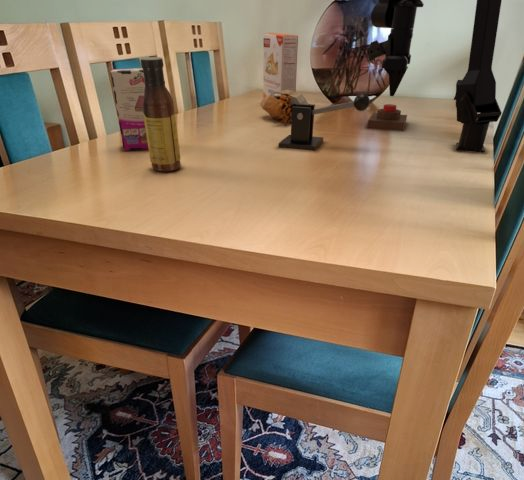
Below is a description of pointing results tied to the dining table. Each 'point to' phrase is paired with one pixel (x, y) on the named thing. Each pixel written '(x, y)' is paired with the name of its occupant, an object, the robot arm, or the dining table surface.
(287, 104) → the nautilus
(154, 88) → the sauce bottle
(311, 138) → the bracket
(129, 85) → the candy bar box
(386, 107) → the button
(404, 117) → the button block
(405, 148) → the dining table surface
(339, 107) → the lever
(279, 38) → the cracker box
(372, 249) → the dining table surface
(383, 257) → the dining table surface
